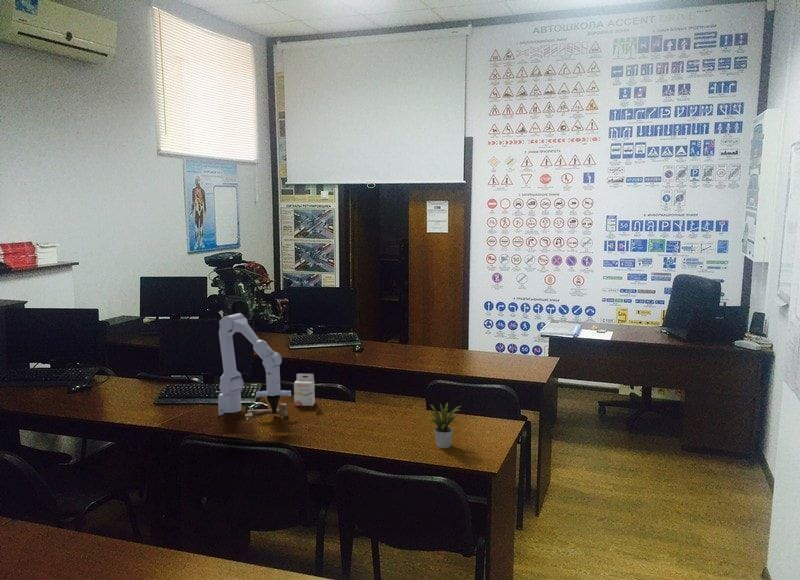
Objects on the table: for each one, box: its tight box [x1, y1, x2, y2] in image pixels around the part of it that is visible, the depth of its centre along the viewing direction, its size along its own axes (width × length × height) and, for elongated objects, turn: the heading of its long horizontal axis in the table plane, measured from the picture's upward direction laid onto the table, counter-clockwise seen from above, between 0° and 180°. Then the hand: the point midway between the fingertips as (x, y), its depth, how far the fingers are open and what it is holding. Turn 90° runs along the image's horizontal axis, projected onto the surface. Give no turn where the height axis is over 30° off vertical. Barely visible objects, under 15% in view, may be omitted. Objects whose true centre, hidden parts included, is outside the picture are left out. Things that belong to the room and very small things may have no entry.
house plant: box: [426, 402, 461, 449], centre depth 229 cm, size 14×14×16 cm
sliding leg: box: [278, 402, 288, 420], centre depth 267 cm, size 3×10×5 cm, turn 2°
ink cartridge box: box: [293, 373, 316, 407], centre depth 282 cm, size 9×5×15 cm, turn 84°
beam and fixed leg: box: [244, 408, 279, 421], centre depth 267 cm, size 17×10×2 cm, turn 92°
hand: (274, 412), depth 266 cm, fingers closed
